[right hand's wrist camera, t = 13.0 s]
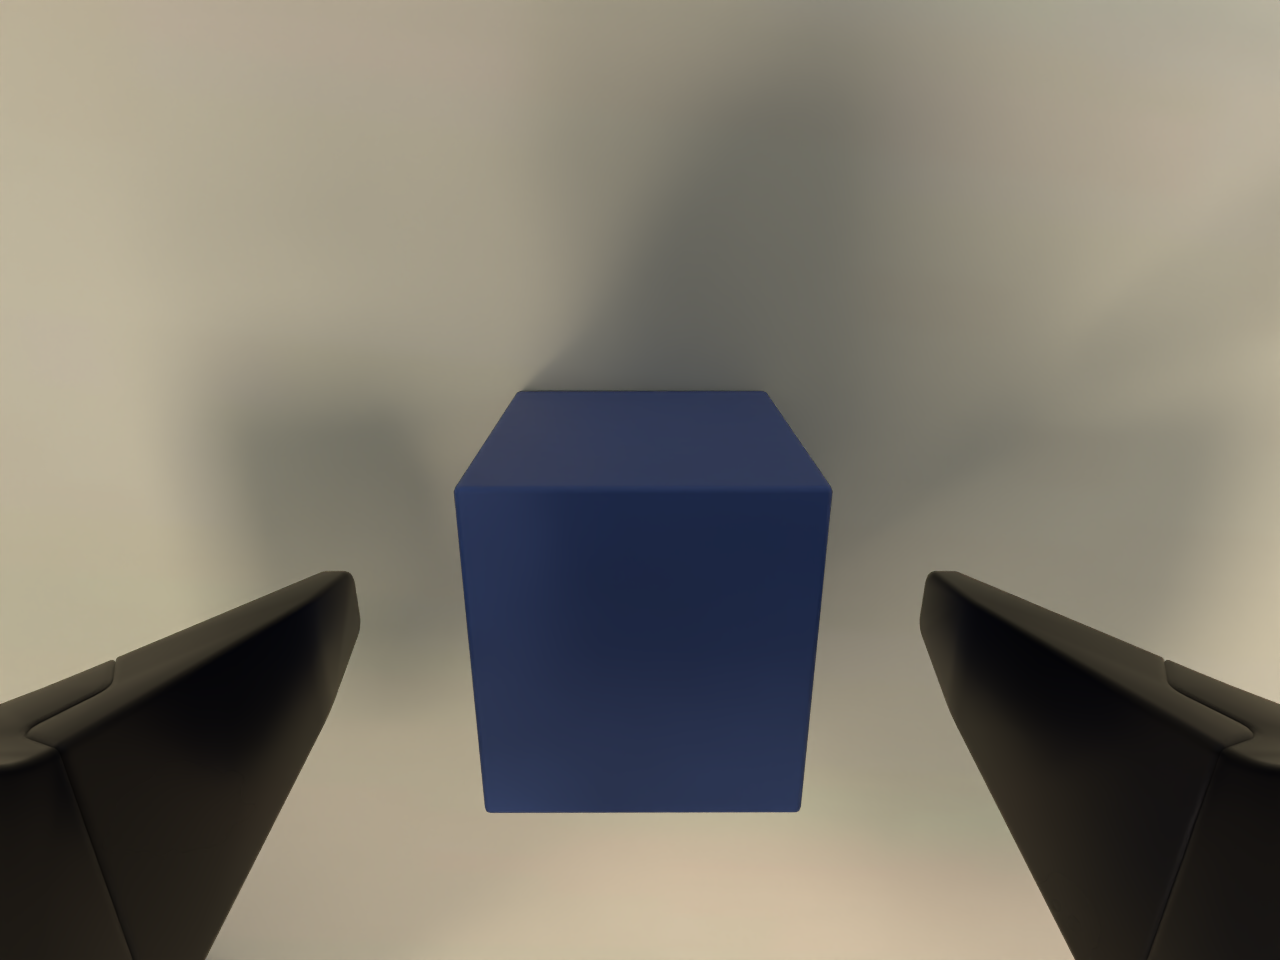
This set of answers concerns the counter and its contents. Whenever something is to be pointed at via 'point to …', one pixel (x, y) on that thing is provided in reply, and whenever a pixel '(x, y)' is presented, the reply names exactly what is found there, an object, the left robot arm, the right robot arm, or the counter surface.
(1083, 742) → the right robot arm
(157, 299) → the counter surface
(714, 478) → the blue cube
